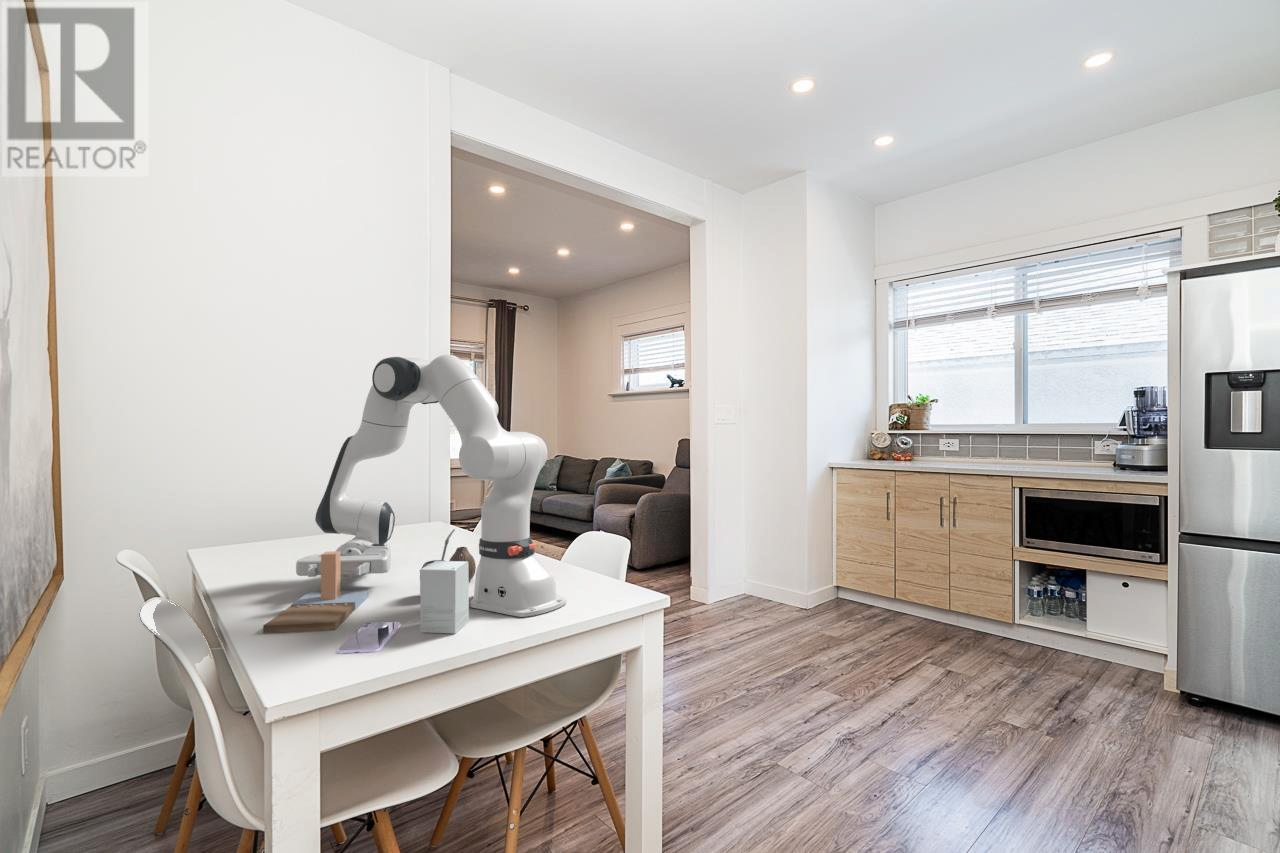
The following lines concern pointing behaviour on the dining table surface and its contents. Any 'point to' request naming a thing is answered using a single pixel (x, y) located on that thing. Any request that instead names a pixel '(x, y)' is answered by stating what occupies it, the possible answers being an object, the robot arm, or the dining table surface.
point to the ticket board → (309, 618)
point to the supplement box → (444, 596)
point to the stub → (331, 586)
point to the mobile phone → (369, 638)
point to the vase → (465, 559)
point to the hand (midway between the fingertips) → (333, 572)
